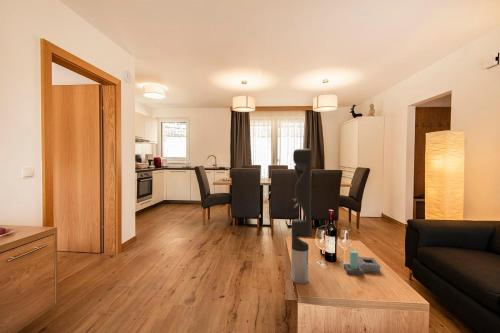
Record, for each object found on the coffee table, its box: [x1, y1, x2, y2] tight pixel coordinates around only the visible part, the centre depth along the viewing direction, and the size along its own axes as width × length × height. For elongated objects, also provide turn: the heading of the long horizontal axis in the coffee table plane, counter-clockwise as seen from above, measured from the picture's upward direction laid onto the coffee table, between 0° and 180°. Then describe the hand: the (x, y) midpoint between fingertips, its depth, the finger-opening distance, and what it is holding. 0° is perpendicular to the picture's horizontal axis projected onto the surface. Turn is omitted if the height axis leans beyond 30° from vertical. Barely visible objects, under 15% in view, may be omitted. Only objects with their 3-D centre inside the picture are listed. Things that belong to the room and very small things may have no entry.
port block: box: [358, 256, 381, 274], centre depth 149 cm, size 12×10×5 cm
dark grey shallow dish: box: [343, 263, 365, 277], centre depth 144 cm, size 9×9×2 cm
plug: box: [349, 250, 359, 270], centre depth 144 cm, size 4×4×12 cm
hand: (301, 213), depth 175 cm, fingers open, 8 cm apart
